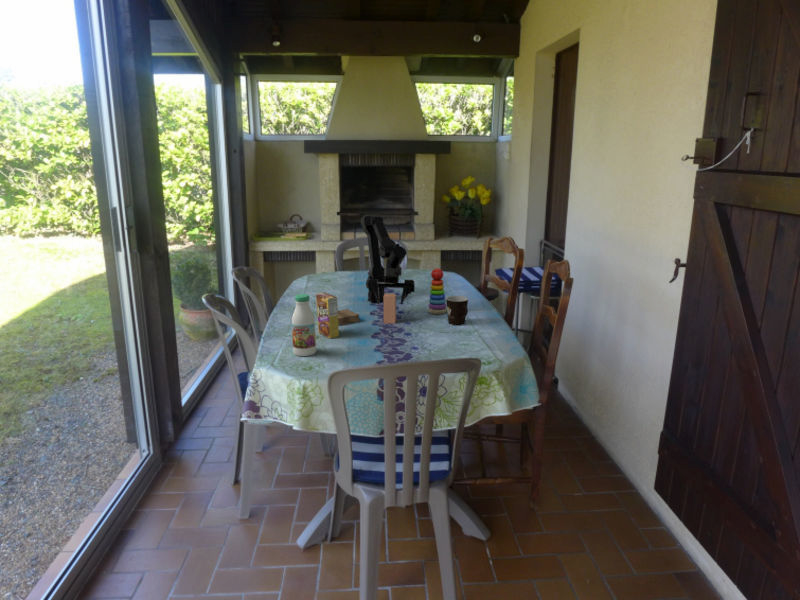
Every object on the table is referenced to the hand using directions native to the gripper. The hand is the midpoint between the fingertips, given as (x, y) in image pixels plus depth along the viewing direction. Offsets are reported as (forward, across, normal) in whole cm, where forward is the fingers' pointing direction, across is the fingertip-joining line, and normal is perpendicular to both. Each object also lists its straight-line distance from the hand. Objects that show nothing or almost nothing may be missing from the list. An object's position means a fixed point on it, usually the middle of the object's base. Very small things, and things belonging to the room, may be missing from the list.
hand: (389, 303), depth 219 cm
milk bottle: (+32, -25, -21) cm, 46 cm away
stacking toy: (-6, +19, +16) cm, 25 cm away
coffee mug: (+6, +26, +5) cm, 28 cm away
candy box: (+18, -21, -7) cm, 29 cm away
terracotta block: (+5, 0, +6) cm, 8 cm away
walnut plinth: (+5, -19, +5) cm, 21 cm away
